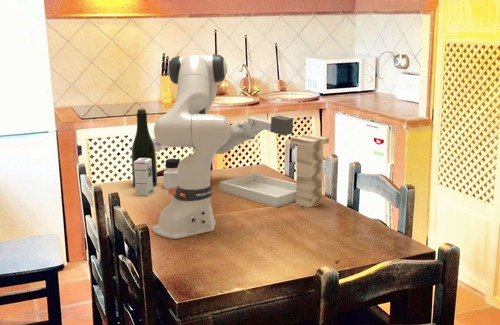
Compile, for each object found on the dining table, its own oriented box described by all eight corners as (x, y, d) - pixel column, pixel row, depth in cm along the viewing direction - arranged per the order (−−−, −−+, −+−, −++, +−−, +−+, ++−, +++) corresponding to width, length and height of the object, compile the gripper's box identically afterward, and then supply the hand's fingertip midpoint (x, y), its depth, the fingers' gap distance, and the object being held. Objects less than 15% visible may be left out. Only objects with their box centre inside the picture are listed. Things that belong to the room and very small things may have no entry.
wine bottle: (158, 186, 260) (155, 110, 253) (134, 188, 258) (129, 111, 250) (155, 180, 270) (152, 107, 263) (132, 182, 268) (127, 108, 260)
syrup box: (148, 195, 248) (147, 161, 244) (135, 195, 249) (133, 160, 245) (153, 192, 253) (152, 158, 250) (140, 191, 254) (138, 157, 251)
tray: (276, 207, 231) (276, 197, 230) (220, 191, 253) (220, 181, 252) (310, 196, 245) (310, 186, 244) (254, 181, 267) (254, 173, 266)
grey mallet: (283, 135, 235) (284, 120, 233) (245, 125, 249) (246, 110, 248) (292, 133, 239) (293, 118, 237) (254, 123, 253) (255, 109, 251)
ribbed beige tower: (310, 209, 228) (311, 141, 222) (290, 204, 235) (291, 138, 229) (327, 203, 235) (328, 137, 229) (307, 198, 242) (308, 134, 236)
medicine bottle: (180, 188, 258) (179, 161, 255) (164, 188, 258) (162, 161, 255) (183, 184, 265) (182, 157, 262) (166, 184, 265) (165, 157, 262)
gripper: (215, 130, 251) (235, 117, 241) (251, 124, 265) (271, 111, 255) (221, 144, 250) (241, 132, 240) (256, 137, 264) (276, 125, 254)
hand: (256, 121), depth 248 cm, fingers closed on grey mallet, 3 cm apart
